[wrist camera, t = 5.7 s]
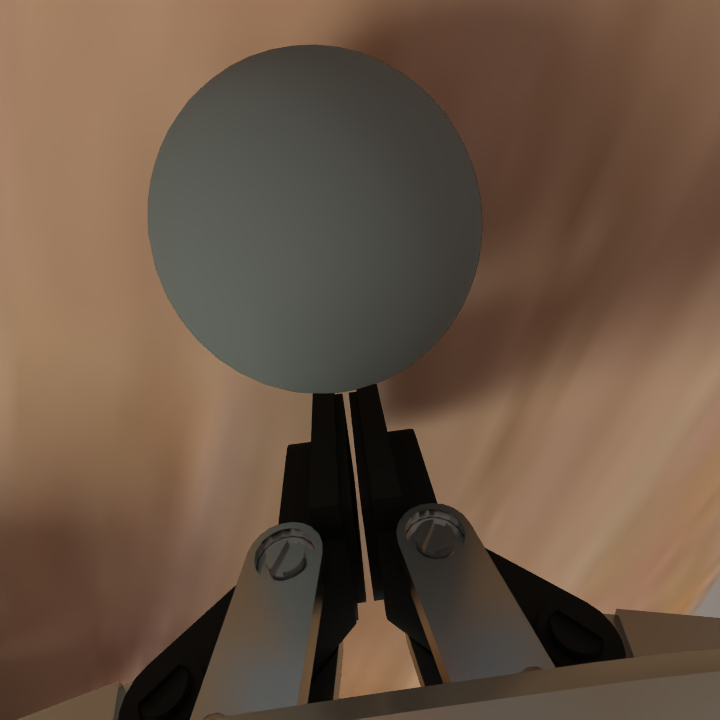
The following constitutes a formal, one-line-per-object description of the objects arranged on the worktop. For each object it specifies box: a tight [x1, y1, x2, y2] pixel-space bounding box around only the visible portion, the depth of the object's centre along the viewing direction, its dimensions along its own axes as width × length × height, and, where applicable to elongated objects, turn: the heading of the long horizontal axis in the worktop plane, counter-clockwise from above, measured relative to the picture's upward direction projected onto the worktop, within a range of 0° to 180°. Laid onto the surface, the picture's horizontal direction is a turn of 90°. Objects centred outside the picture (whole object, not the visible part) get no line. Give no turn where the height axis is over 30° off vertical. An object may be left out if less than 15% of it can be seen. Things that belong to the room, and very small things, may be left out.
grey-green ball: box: [148, 45, 482, 393], centre depth 8 cm, size 6×6×6 cm
